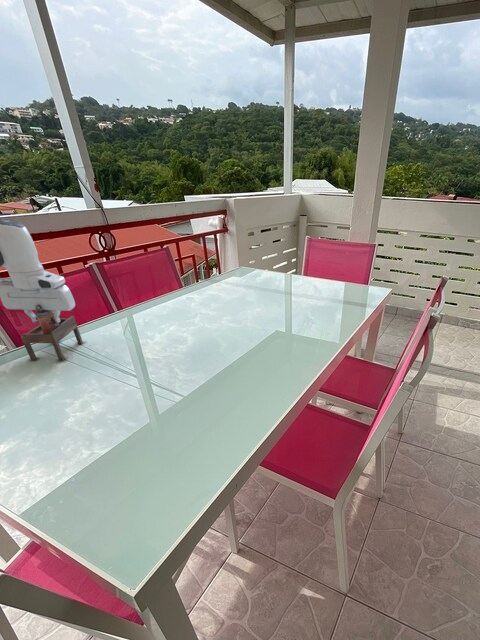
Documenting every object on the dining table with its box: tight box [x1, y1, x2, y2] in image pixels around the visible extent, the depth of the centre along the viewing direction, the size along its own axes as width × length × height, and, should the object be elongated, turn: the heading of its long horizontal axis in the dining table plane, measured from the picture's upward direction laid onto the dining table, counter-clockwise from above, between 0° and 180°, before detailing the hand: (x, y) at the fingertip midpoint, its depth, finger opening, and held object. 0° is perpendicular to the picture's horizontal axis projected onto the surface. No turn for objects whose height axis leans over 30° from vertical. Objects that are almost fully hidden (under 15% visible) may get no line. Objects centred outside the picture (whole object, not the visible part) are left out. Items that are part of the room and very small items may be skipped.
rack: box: [20, 315, 84, 362], centre depth 112 cm, size 10×14×10 cm
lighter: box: [34, 305, 59, 334], centre depth 108 cm, size 8×3×10 cm, turn 7°
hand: (47, 322), depth 109 cm, fingers open, 5 cm apart
